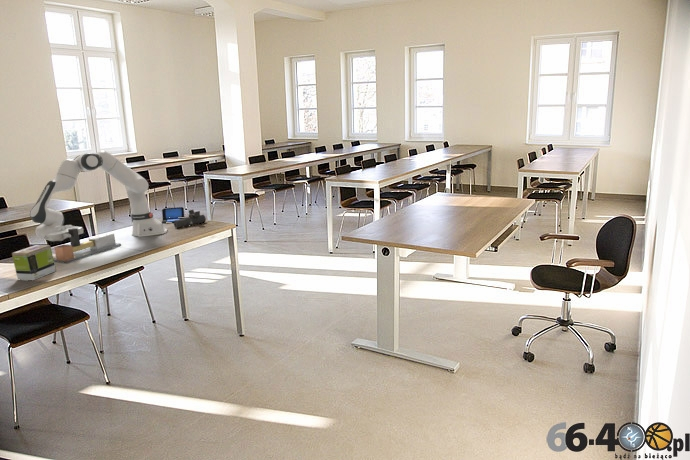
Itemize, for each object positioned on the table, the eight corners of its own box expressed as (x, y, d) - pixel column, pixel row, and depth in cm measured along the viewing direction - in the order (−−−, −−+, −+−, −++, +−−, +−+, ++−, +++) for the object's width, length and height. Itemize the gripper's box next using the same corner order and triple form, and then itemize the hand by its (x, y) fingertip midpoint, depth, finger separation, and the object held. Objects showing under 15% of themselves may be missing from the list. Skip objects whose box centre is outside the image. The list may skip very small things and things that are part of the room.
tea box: (41, 270, 278) (36, 244, 275) (56, 271, 275) (51, 244, 272) (16, 280, 264) (10, 252, 261) (32, 281, 261) (26, 252, 258)
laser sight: (173, 227, 366) (171, 213, 364) (202, 221, 381) (200, 208, 379) (179, 229, 359) (177, 215, 357) (208, 223, 374) (207, 209, 372)
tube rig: (107, 244, 328) (105, 231, 326) (121, 245, 323) (119, 232, 321) (52, 261, 295) (49, 247, 293) (66, 263, 290) (64, 248, 288)
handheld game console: (161, 224, 379) (160, 211, 377) (163, 220, 392) (161, 208, 390) (184, 222, 383) (182, 209, 381) (185, 218, 395) (183, 206, 393)
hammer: (99, 242, 318) (95, 222, 315) (103, 243, 316) (100, 222, 313) (62, 254, 296) (58, 231, 293) (67, 254, 294) (63, 232, 291)
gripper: (40, 232, 295) (57, 233, 290) (72, 224, 313) (88, 225, 308) (42, 243, 297) (59, 244, 291) (74, 234, 315) (90, 235, 309)
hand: (74, 234), depth 299 cm, fingers closed on hammer, 3 cm apart
